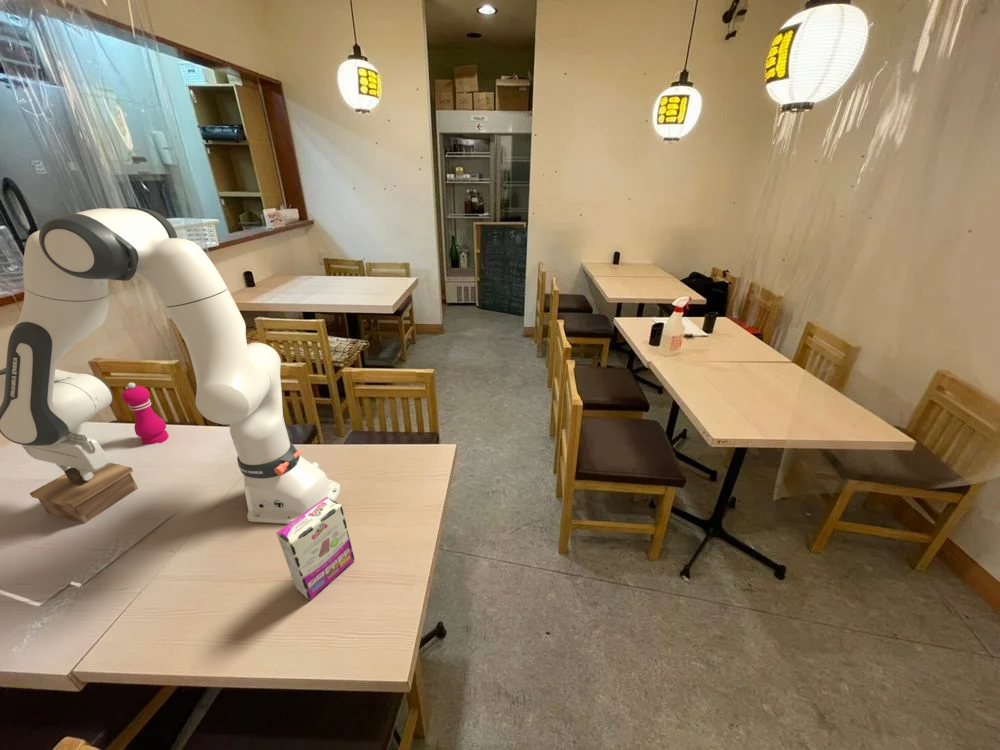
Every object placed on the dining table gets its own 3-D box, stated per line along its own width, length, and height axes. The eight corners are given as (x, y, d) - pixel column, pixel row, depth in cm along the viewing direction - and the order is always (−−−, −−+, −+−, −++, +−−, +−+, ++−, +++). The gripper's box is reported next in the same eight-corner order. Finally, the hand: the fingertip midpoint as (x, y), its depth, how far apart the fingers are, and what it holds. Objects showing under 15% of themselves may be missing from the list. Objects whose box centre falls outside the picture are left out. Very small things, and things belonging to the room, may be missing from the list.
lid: (133, 471, 101) (125, 456, 99) (73, 508, 90) (63, 492, 88) (94, 462, 104) (86, 447, 102) (32, 497, 93) (21, 481, 91)
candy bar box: (340, 550, 88) (327, 494, 81) (355, 560, 86) (343, 504, 79) (293, 589, 80) (274, 531, 72) (309, 602, 78) (291, 543, 70)
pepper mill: (154, 448, 119) (127, 390, 110) (134, 445, 120) (106, 387, 111) (176, 434, 125) (152, 378, 116) (157, 431, 127) (132, 375, 118)
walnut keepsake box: (139, 489, 104) (129, 472, 101) (86, 524, 93) (74, 505, 91) (104, 481, 106) (94, 463, 104) (48, 514, 96) (36, 496, 93)
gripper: (103, 428, 90) (127, 475, 97) (38, 415, 95) (65, 461, 101) (70, 445, 85) (98, 493, 91) (2, 430, 89) (34, 477, 95)
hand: (81, 476), depth 96 cm, fingers closed on lid, 3 cm apart
